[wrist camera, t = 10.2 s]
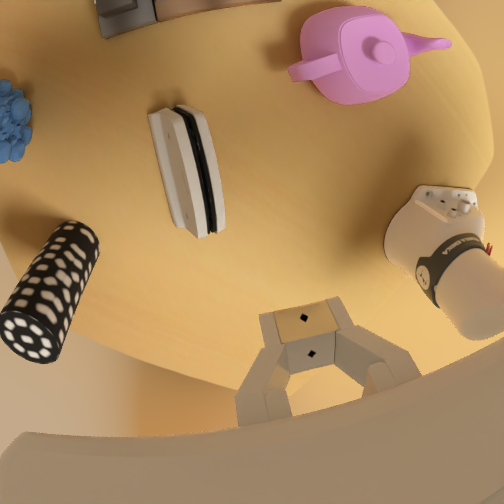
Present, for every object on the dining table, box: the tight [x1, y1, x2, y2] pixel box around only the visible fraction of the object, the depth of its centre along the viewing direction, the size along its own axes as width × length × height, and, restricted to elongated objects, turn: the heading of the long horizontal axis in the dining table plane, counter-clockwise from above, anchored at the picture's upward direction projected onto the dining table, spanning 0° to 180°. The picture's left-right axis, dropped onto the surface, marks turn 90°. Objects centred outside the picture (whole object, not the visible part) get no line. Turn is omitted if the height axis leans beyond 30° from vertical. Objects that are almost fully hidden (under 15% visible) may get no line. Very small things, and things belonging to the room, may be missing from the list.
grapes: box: [0, 79, 32, 164], centre depth 27 cm, size 12×7×12 cm, turn 16°
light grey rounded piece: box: [148, 105, 225, 239], centre depth 37 cm, size 17×5×10 cm, turn 7°
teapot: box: [286, 6, 452, 105], centre depth 30 cm, size 13×20×11 cm, turn 112°
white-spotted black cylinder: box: [0, 221, 100, 364], centre depth 35 cm, size 8×8×20 cm
